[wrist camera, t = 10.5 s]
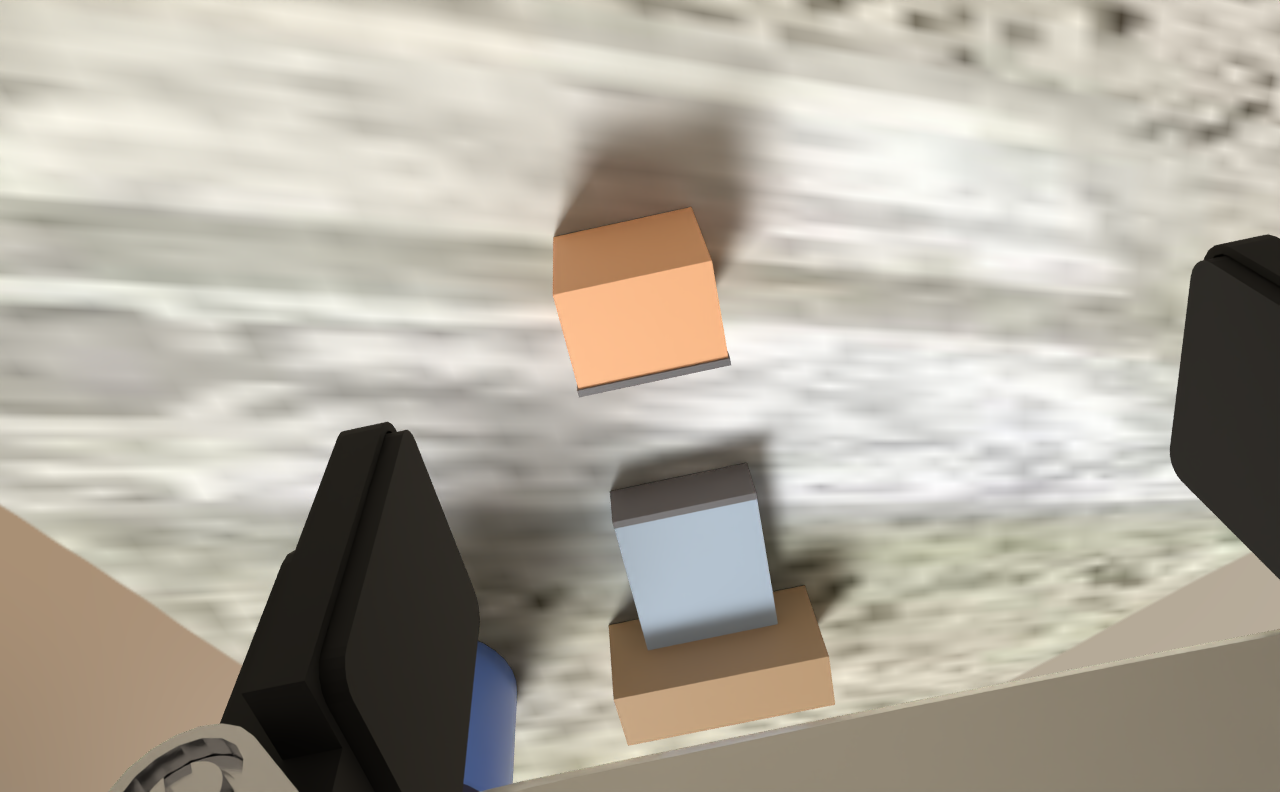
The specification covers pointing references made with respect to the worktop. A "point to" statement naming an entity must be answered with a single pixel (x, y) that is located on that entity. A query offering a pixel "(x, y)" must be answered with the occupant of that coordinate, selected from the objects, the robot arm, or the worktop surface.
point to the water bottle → (491, 723)
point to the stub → (638, 302)
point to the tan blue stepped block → (707, 613)
